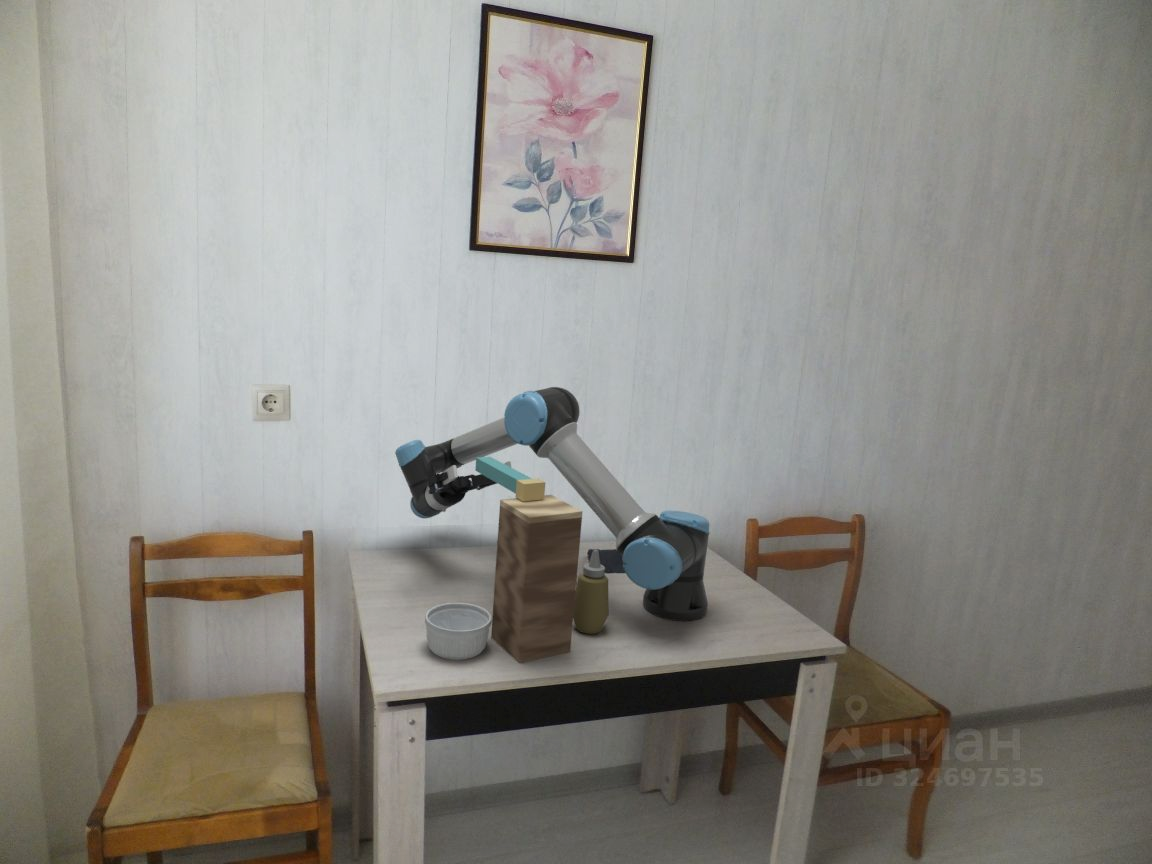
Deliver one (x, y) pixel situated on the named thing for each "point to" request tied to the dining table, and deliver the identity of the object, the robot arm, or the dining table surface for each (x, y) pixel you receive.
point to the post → (535, 577)
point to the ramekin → (457, 630)
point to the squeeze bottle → (591, 597)
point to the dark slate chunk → (610, 560)
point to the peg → (511, 479)
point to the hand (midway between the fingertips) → (483, 469)
